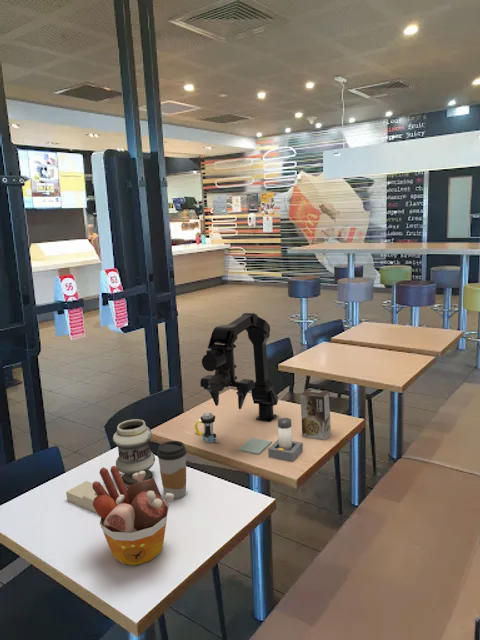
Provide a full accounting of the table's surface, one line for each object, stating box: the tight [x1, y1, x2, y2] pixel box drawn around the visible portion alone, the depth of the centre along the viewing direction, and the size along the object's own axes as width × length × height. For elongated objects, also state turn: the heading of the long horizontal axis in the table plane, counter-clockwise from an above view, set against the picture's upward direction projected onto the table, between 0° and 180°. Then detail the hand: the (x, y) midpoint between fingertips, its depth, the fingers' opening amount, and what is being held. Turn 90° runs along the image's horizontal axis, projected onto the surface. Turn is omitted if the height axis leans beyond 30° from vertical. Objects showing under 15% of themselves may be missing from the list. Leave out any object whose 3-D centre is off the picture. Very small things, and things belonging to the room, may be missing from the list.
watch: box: [194, 418, 204, 436], centre depth 187 cm, size 6×3×6 cm, turn 67°
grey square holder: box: [267, 438, 304, 463], centre depth 168 cm, size 9×9×3 cm
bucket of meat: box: [92, 465, 174, 566], centre depth 120 cm, size 20×16×20 cm
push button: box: [199, 412, 219, 444], centre depth 180 cm, size 7×5×10 cm
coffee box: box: [299, 388, 332, 441], centre depth 180 cm, size 9×6×16 cm
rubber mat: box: [237, 437, 273, 456], centre depth 175 cm, size 10×8×1 cm
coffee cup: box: [156, 440, 187, 501], centre depth 145 cm, size 8×8×15 cm
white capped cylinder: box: [277, 417, 293, 451], centre depth 167 cm, size 4×4×12 cm
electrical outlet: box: [65, 480, 120, 514], centre depth 144 cm, size 7×4×18 cm
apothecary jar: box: [112, 418, 156, 487], centre depth 156 cm, size 12×12×18 cm
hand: (228, 407), depth 173 cm, fingers open, 9 cm apart
